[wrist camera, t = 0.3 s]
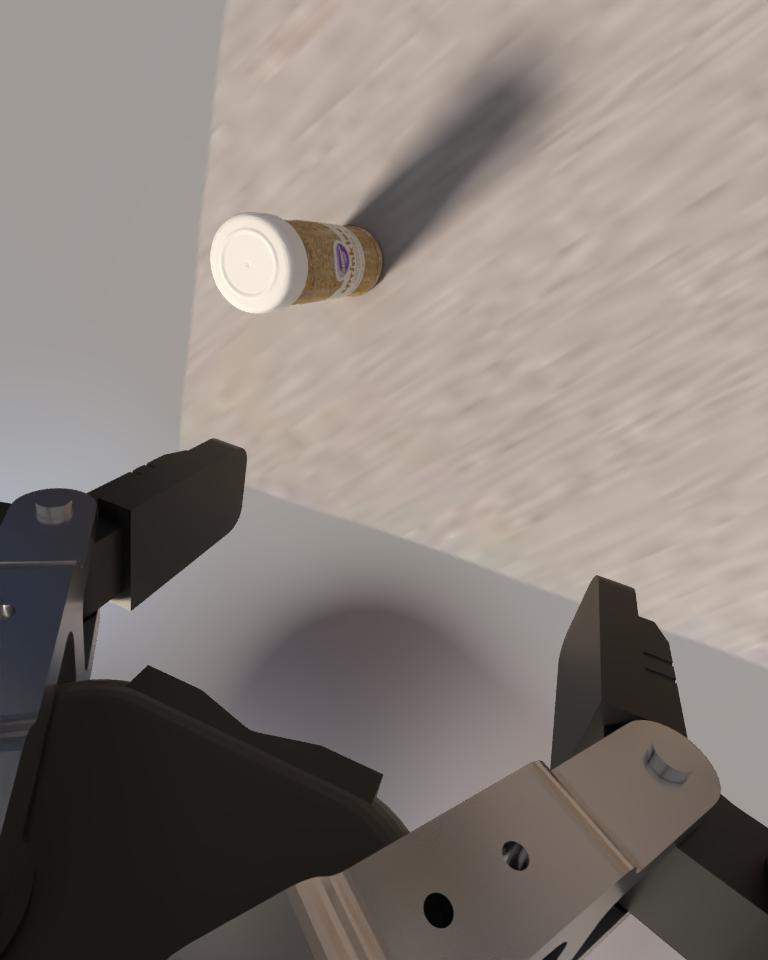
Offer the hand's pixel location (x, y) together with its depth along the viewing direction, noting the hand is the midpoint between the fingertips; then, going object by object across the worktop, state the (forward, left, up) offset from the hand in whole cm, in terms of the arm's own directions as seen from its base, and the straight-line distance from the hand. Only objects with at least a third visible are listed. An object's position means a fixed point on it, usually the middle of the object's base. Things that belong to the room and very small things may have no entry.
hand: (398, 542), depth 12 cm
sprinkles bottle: (-3, -13, -28) cm, 31 cm away
